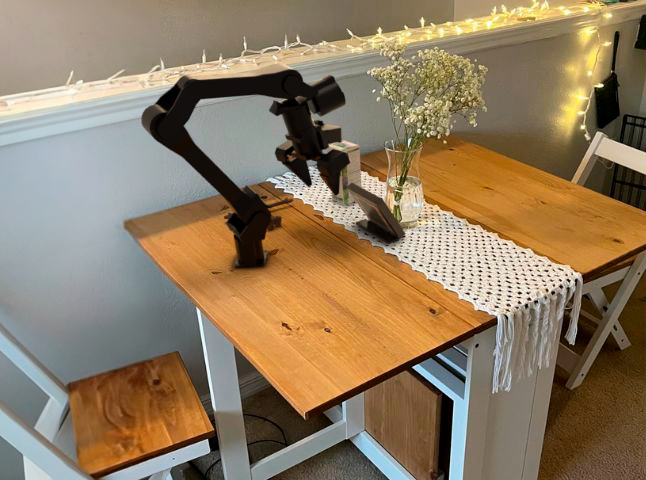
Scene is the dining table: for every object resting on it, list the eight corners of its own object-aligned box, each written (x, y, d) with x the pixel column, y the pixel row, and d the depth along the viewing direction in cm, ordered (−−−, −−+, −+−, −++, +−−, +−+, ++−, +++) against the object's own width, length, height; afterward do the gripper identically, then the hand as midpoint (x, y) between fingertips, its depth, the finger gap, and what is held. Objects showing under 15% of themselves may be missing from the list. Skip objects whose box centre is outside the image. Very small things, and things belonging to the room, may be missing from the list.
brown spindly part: (237, 227, 153) (215, 200, 163) (239, 243, 156) (218, 215, 166) (309, 208, 161) (284, 183, 171) (310, 223, 164) (285, 198, 173)
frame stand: (389, 246, 150) (388, 242, 150) (355, 225, 159) (355, 222, 159) (399, 242, 152) (398, 238, 151) (365, 222, 161) (365, 218, 160)
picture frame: (400, 239, 153) (376, 204, 144) (369, 221, 161) (345, 187, 152) (406, 233, 153) (382, 198, 144) (375, 216, 161) (351, 182, 153)
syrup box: (331, 200, 172) (326, 145, 164) (348, 193, 176) (344, 138, 168) (346, 206, 169) (342, 150, 161) (363, 198, 172) (360, 143, 165)
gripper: (358, 113, 136) (377, 179, 146) (300, 102, 148) (322, 163, 158) (318, 140, 131) (341, 207, 141) (262, 126, 143) (287, 188, 153)
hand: (323, 190), depth 148 cm, fingers open, 9 cm apart
